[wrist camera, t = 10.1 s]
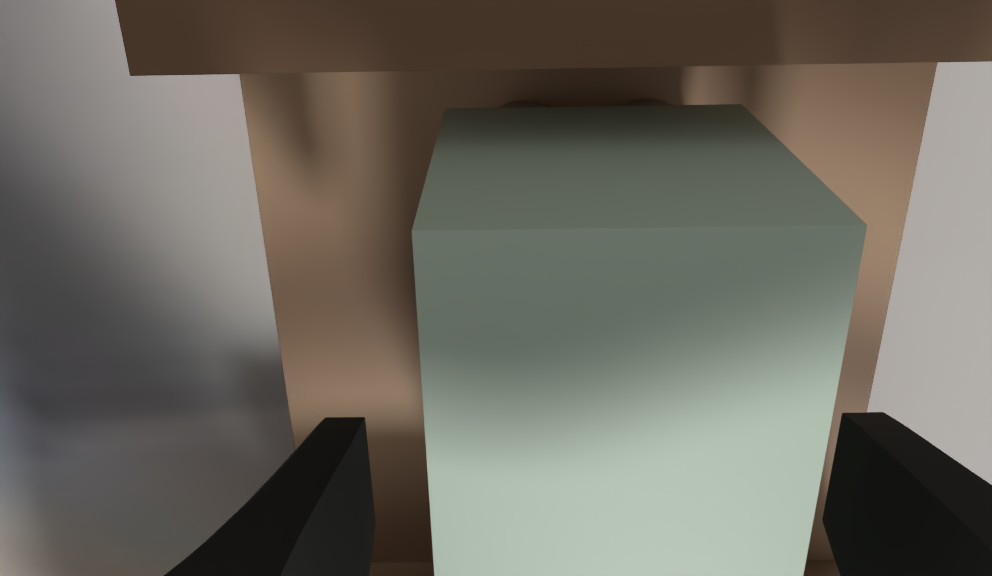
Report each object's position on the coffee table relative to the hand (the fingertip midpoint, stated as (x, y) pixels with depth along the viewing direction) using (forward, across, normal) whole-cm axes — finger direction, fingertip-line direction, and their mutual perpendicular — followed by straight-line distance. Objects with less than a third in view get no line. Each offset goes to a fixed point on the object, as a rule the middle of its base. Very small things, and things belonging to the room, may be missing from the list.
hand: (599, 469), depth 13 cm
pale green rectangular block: (+2, 0, 0) cm, 2 cm away
